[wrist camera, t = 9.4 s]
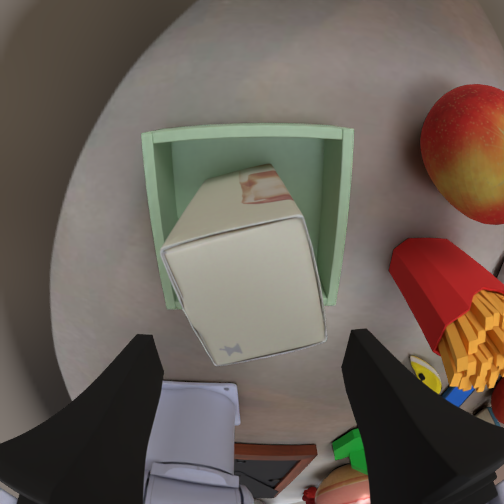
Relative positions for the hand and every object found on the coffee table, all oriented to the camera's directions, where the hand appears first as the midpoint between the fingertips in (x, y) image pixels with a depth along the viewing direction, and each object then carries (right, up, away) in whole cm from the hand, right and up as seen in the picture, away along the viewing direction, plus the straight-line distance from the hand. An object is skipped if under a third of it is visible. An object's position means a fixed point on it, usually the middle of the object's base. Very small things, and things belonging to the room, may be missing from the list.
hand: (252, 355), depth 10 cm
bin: (0, +7, +8) cm, 11 cm away
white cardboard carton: (0, +7, +8) cm, 10 cm away
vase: (+17, -35, +30) cm, 49 cm away
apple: (+13, +12, +6) cm, 19 cm away
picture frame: (-3, -32, +28) cm, 43 cm away
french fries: (+13, +3, +10) cm, 17 cm away
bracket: (+17, -22, +23) cm, 36 cm away
